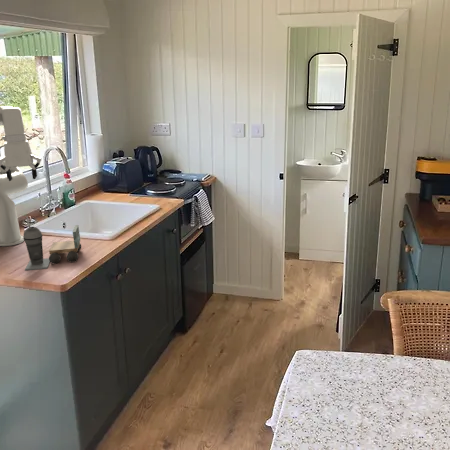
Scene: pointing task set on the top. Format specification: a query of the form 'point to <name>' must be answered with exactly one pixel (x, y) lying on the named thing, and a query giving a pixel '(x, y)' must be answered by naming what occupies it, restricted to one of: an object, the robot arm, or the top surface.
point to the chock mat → (41, 266)
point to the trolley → (66, 248)
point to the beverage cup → (34, 244)
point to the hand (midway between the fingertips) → (22, 179)
